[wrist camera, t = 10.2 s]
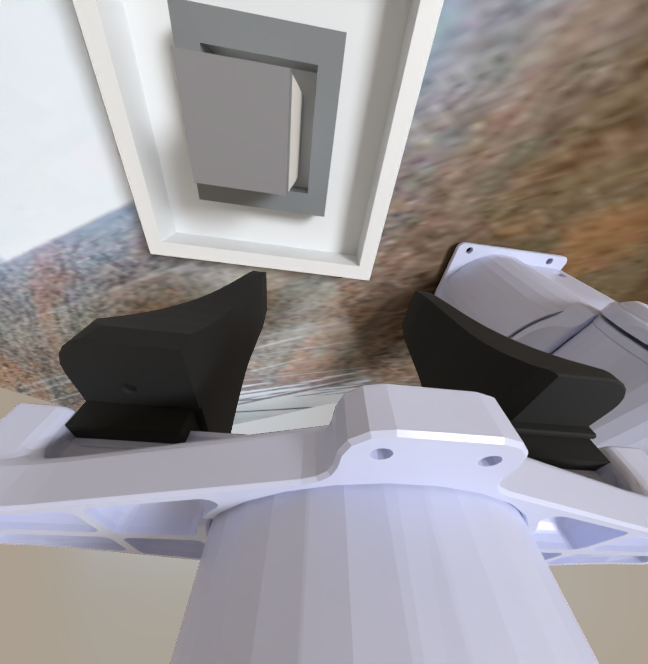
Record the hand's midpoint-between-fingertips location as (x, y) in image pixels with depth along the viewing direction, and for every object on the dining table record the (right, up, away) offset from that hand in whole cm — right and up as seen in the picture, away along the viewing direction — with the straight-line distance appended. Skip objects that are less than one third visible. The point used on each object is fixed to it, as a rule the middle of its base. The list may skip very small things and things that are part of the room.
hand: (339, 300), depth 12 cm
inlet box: (-4, +11, +4) cm, 13 cm away
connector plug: (-4, +11, +3) cm, 12 cm away
